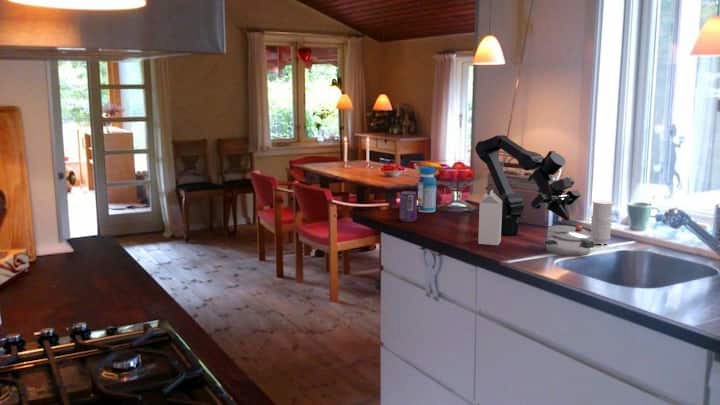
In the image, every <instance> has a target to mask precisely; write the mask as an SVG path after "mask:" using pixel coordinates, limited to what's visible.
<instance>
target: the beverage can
mask: <svg viewBox="0 0 720 405" xmlns="http://www.w3.org/2000/svg"><path fill="white" fill-rule="evenodd" d="M417 212H418V195H417V192H416V191H413V190H411V191H407V190H406V191H401V193H400V196H399V219H400V221H403V222H405V223H410V222H411V223H412V222H414V221H416V220H417V219H418V218H417V216H418V215H417V214H418V213H417Z"/></svg>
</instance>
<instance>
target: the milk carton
mask: <svg viewBox="0 0 720 405" xmlns="http://www.w3.org/2000/svg"><path fill="white" fill-rule="evenodd" d="M481 198H482V200H481V201H479V208H478V209H479V214H478V215H479V217H478V240H477V242H478V243H477V244H479V245H490V246H499V244H500V243H501V242H502V241H501V239H502V235H501V222H502V200H501V199H500V196H498V195H497V194H496V193H494V189H491V190H490V192H489V194H488V193H485V194H483V195H482V196H481Z"/></svg>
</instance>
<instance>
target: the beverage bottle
mask: <svg viewBox="0 0 720 405" xmlns="http://www.w3.org/2000/svg"><path fill="white" fill-rule="evenodd" d="M419 174H420V177H419V178H418V181H417V183H418V186H417V212H420V213H434V212H436V204H437V203H436V202H437V188H438V187H437V180H436V177H435V176H434V175H435V174H436V167H435V166H429V165H428V166H425V165H424V166H420V168H419Z"/></svg>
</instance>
